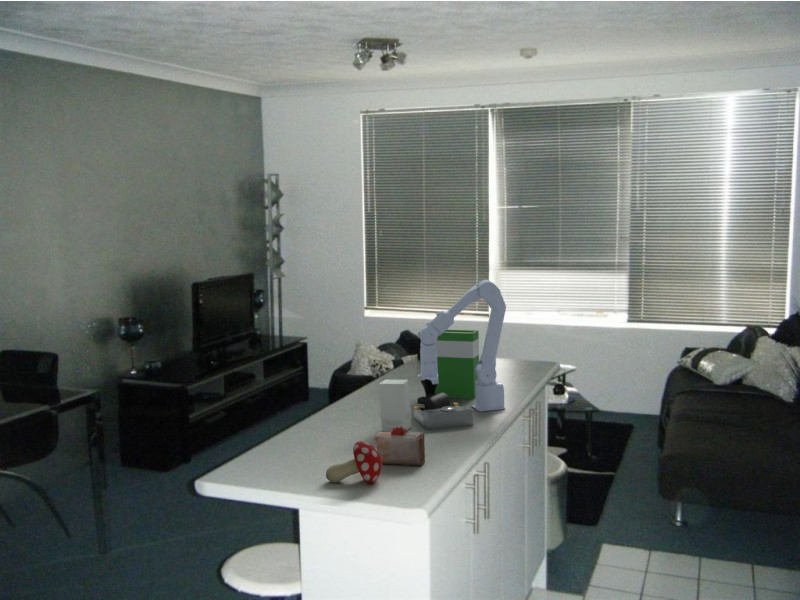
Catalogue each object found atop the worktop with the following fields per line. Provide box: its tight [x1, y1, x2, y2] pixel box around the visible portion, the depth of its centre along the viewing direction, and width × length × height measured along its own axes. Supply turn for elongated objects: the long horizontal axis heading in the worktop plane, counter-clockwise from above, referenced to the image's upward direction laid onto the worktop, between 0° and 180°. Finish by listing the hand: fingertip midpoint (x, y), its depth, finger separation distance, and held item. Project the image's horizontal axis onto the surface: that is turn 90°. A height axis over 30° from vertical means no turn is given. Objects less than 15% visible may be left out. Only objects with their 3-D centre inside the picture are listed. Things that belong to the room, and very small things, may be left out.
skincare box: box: [378, 378, 412, 432], centre depth 252 cm, size 8×7×16 cm
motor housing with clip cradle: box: [413, 402, 474, 430], centre depth 261 cm, size 15×16×6 cm
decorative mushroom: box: [325, 441, 383, 484], centre depth 204 cm, size 11×11×15 cm
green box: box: [435, 329, 480, 400], centre depth 296 cm, size 18×7×24 cm, turn 69°
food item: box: [374, 425, 426, 467], centre depth 219 cm, size 14×8×10 cm, turn 76°
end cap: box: [417, 392, 451, 412], centre depth 269 cm, size 10×7×7 cm
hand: (430, 400), depth 275 cm, fingers closed, pressing on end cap
